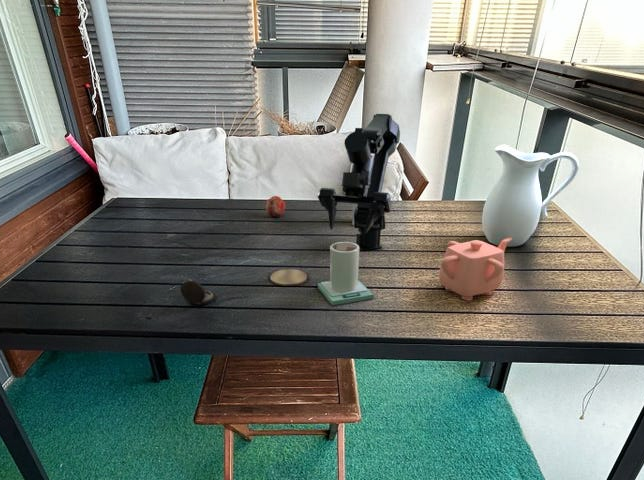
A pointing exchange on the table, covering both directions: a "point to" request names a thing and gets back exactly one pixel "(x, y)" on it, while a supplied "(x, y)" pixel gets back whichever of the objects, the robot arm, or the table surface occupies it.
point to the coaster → (288, 277)
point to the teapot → (473, 267)
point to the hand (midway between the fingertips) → (348, 230)
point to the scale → (344, 294)
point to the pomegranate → (275, 206)
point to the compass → (196, 293)
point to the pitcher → (519, 195)
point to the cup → (344, 266)
